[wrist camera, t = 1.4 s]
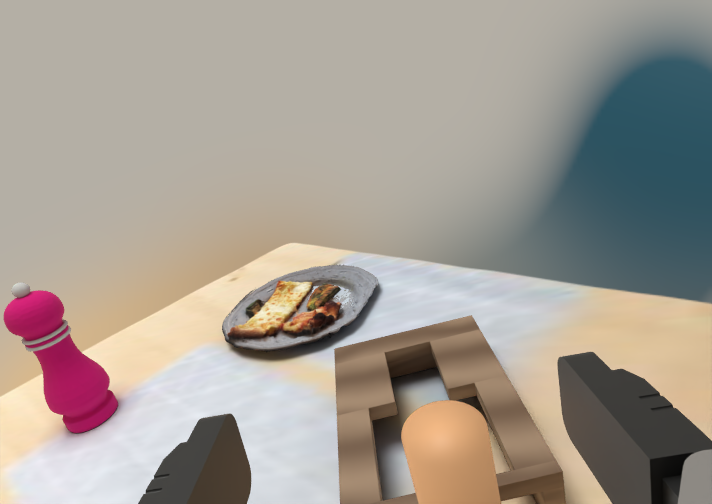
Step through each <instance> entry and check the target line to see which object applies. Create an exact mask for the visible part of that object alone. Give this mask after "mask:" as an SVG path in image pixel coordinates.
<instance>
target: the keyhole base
mask: <svg viewBox="0 0 712 504" xmlns="http://www.w3.org/2000/svg"><path fill="white" fill-rule="evenodd" d="M334 350H335V377H336V404H337V431H338V458H339V484H340V504H419V503H418V499H417V495H416V493H414V494H409V495H405V496H401V497H397V498H392V499H388V500H384V501H383V498H382V491H381V483H380V476H379V468H378V461H377V454H376V446H375V439H374V431H373V424H372V420H376V419H381V418H385V417H389V416H393V415H397V414H398V412H397V407H396V402H395V397H394V393H393V388H392V383H391V378H393V377H397V376H402V375H406V374H410V373H414V372H418V371H422V370H426V369H431V368H435V367H438V370H439V373H440V375H441V378H442V381H443V383H444V386H445V389H446V391H447V394H448V397H449V400H452V401H456V400H460V399H464V398H468V397H473V396H477V397H478V400H479V402H480V404H481V406H482V408H483V411H484V413H485V415H486V417H487V419H488V421H489V424H490V426H491V428H492V430H493V432H494V435H495V437H496V439H497V441H498V443H499V446H500V448H501V450H502V452H503V454H504V456H505V459H506V461H507V463H508V465H509V467H510V470H511V471H508V472H504V473H500V474H496V477H497V483H498V489H499V495H500V500H501V501H504V500H509V499H513V498H517V497H522V496H526V495H530V494H533V496H534V498H535V500H536V502H537V504H566V501H565V491H564V481H563V471H562V470H561V468H560V466H559V465H558V463H557V461H556V459H555V458H554V456H553V454H552V453H551V451H550V449H549V447H548V446H547V444H546V442H545V441H544V439H543V437H542V435H541V434H540V432H539V430H538V429H537V427H536V425H535V423H534V422H533V420H532V418H531V416H530V415H529V413H528V411H527V410H526V408H525V406H524V404H523V403H522V401H521V399H520V398H519V396H518V394H517V392H516V391H515V389H514V387H513V386H512V384H511V382H510V380H509V379H508V377H507V375H506V374H505V372H504V370H503V368H502V367H501V365H500V363H499V361H498V360H497V358H496V356H495V355H494V353H493V351H492V349H491V348H490V346H489V344H488V343H487V341H486V339H485V337H484V336H483V334H482V332H481V331H480V329H479V327H478V325H477V324H476V322H475V320H474V319H473V317H472V315H471V316H467V317H463V318H459V319H455V320H451V321H446V322H442V323H438V324H434V325H430V326H426V327H422V328H418V329H414V330H410V331H406V332H401V333H397V334H393V335H389V336H385V337H381V338H377V339H373V340H369V341H365V342H361V343H356V344H352V345H348V346H344V347H340V348H336V349H334Z"/></svg>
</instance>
